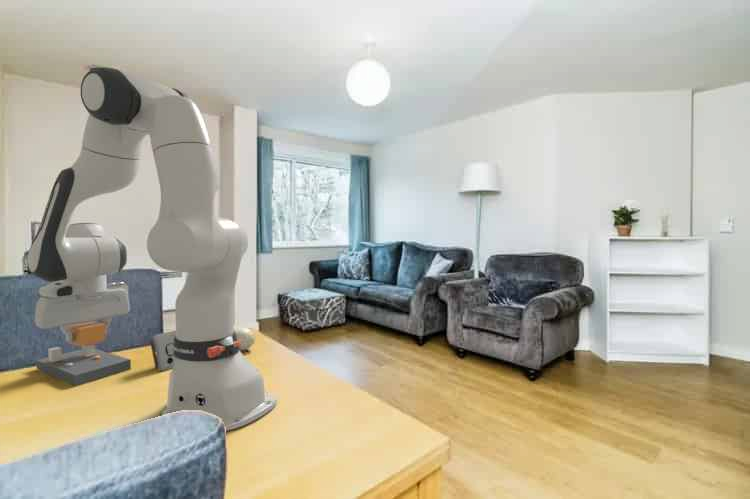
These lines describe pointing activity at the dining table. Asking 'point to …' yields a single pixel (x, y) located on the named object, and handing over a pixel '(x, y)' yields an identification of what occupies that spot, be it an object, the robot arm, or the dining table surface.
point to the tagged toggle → (88, 350)
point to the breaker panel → (84, 366)
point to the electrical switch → (163, 350)
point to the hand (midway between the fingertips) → (87, 337)
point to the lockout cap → (88, 333)
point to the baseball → (245, 338)
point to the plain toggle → (55, 354)
